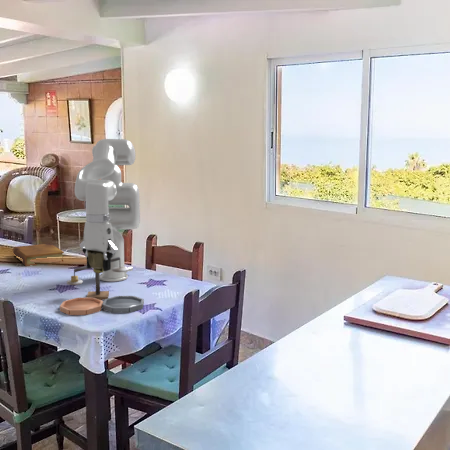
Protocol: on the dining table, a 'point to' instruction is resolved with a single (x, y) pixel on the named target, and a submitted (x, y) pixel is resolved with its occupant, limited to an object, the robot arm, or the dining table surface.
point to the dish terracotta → (81, 306)
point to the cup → (96, 261)
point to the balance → (96, 294)
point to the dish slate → (123, 304)
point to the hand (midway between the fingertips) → (98, 268)
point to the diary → (36, 252)
